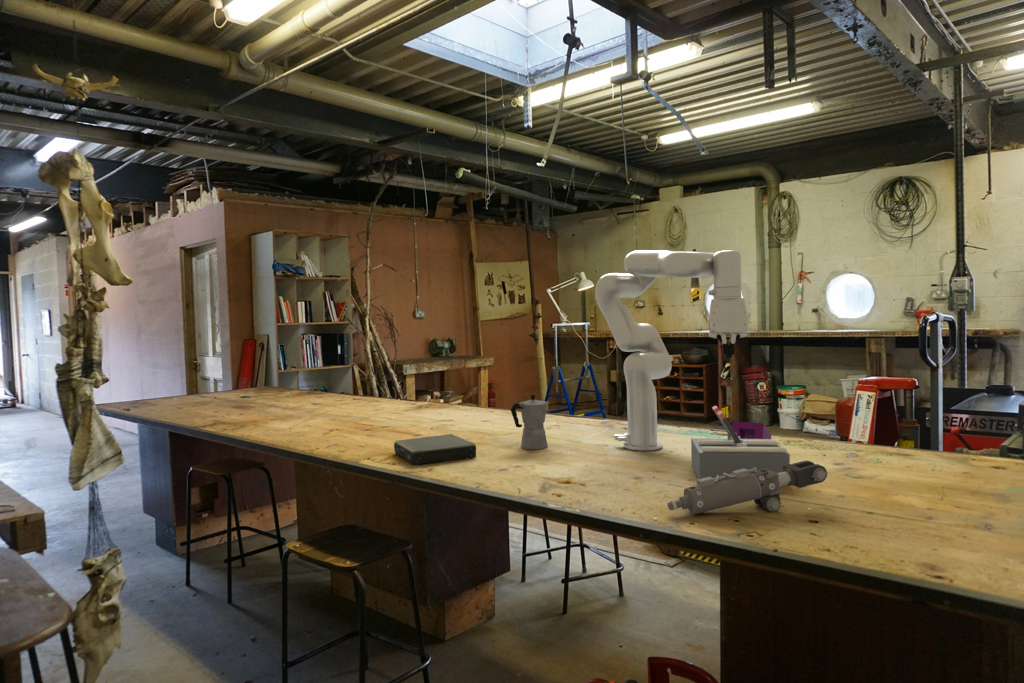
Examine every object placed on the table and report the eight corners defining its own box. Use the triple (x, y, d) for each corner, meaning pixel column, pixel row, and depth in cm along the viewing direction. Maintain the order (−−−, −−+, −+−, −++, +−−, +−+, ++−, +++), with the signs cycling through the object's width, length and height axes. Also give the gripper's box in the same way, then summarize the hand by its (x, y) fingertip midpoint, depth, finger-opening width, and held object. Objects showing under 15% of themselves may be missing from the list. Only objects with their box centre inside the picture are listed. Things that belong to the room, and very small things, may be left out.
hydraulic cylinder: (833, 498, 140) (826, 455, 139) (679, 537, 135) (671, 492, 134) (813, 489, 147) (806, 448, 146) (666, 526, 142) (659, 483, 142)
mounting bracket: (742, 461, 210) (729, 447, 197) (744, 436, 213) (732, 421, 199) (772, 463, 205) (761, 449, 191) (773, 438, 208) (763, 423, 194)
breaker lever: (740, 449, 164) (718, 414, 165) (737, 446, 168) (716, 412, 168) (744, 447, 164) (723, 412, 164) (741, 444, 168) (720, 410, 168)
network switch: (483, 457, 201) (483, 442, 201) (417, 469, 188) (416, 453, 188) (448, 446, 220) (448, 432, 220) (386, 456, 207) (385, 441, 207)
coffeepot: (542, 442, 221) (541, 391, 220) (558, 446, 213) (556, 393, 212) (504, 448, 213) (503, 395, 212) (519, 452, 205) (518, 398, 204)
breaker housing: (699, 483, 163) (698, 414, 162) (691, 465, 181) (690, 404, 181) (789, 485, 159) (789, 414, 158) (771, 466, 178) (771, 403, 177)
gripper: (702, 294, 178) (703, 358, 179) (757, 292, 175) (758, 358, 176) (698, 295, 185) (699, 357, 186) (752, 293, 183) (752, 356, 184)
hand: (728, 357), depth 181 cm, fingers closed
